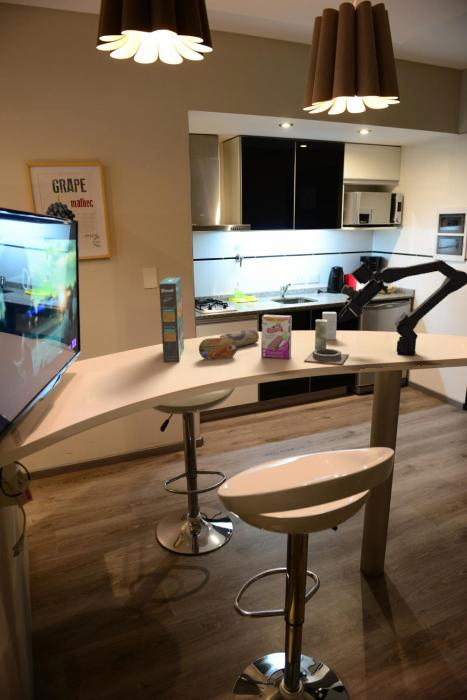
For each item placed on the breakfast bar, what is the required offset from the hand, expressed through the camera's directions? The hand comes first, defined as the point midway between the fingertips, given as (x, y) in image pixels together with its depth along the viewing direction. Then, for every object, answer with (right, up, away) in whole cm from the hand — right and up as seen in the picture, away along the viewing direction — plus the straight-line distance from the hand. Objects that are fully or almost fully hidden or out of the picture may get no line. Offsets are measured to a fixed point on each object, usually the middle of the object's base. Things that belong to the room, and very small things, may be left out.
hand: (338, 319), depth 185 cm
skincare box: (+1, -7, +25) cm, 26 cm away
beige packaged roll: (-43, -11, +13) cm, 46 cm away
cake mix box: (-66, -14, +2) cm, 68 cm away
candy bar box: (-25, -15, -4) cm, 30 cm away
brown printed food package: (-48, -16, -4) cm, 51 cm away
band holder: (-6, -15, -8) cm, 19 cm away
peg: (-6, -12, +5) cm, 15 cm away
